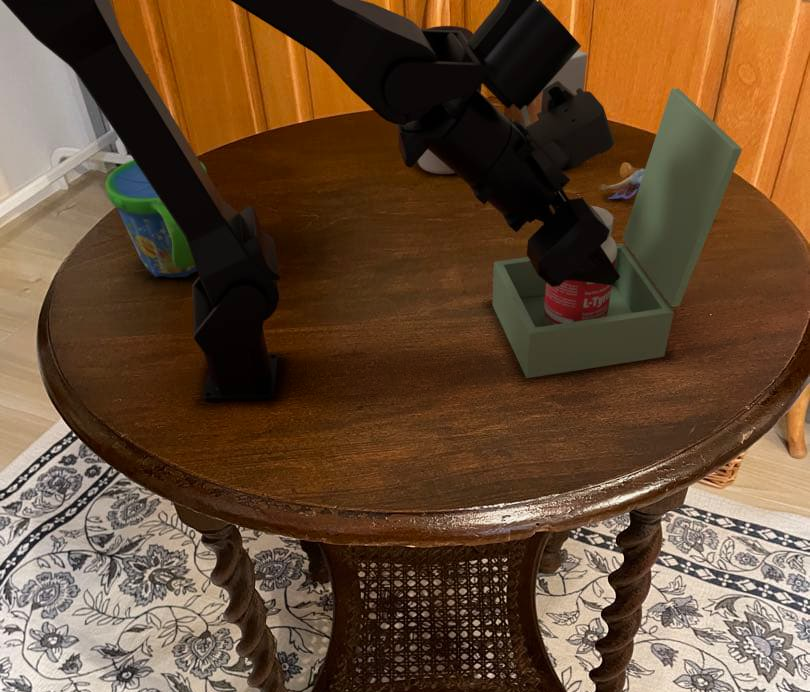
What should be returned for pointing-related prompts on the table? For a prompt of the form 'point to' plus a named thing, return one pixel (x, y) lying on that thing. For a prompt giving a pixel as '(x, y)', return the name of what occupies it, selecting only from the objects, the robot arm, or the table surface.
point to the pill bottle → (581, 290)
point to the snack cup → (149, 223)
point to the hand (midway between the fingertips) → (598, 254)
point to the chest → (582, 340)
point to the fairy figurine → (627, 180)
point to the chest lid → (679, 194)
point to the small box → (568, 76)
